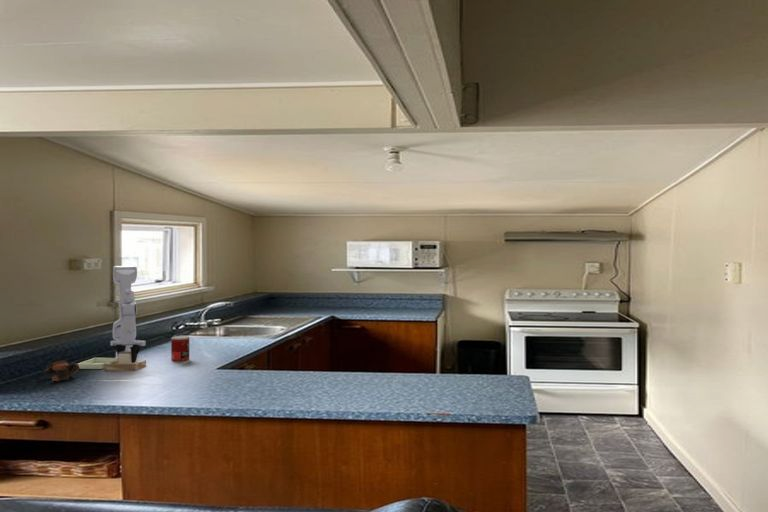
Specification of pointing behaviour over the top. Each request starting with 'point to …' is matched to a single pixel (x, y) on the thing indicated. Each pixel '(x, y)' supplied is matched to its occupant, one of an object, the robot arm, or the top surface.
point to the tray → (96, 363)
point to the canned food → (180, 348)
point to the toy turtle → (61, 370)
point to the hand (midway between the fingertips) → (128, 362)
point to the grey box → (126, 357)
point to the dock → (124, 366)
